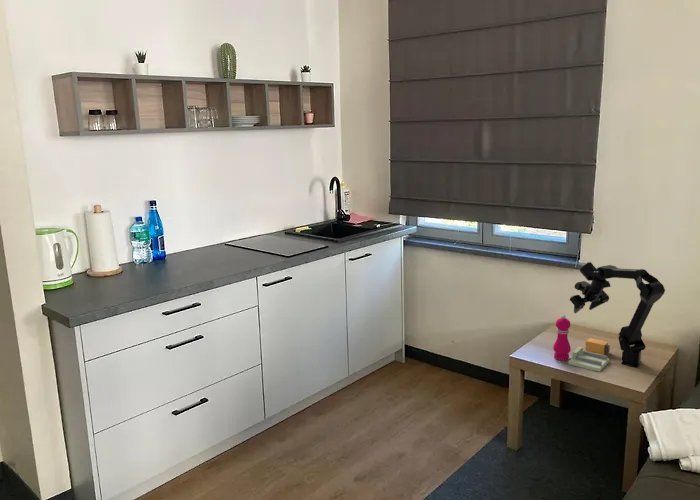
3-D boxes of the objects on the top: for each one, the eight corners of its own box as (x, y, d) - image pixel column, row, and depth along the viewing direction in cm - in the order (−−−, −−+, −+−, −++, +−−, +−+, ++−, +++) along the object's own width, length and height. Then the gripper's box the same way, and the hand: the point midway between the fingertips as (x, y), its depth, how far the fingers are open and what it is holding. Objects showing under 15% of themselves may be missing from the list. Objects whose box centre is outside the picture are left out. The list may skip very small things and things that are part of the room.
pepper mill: (557, 353, 263) (559, 311, 259) (573, 357, 258) (575, 314, 253) (549, 358, 258) (551, 315, 254) (565, 362, 253) (567, 319, 249)
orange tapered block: (609, 352, 261) (610, 342, 260) (606, 356, 258) (607, 345, 257) (589, 348, 267) (589, 338, 266) (585, 351, 264) (586, 341, 263)
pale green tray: (608, 361, 252) (609, 352, 251) (599, 371, 243) (600, 361, 242) (578, 354, 260) (579, 345, 259) (568, 363, 252) (568, 354, 251)
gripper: (600, 272, 272) (586, 295, 283) (569, 278, 266) (556, 302, 276) (616, 289, 265) (601, 312, 275) (584, 295, 258) (570, 319, 268)
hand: (582, 311), depth 274 cm, fingers open, 9 cm apart
